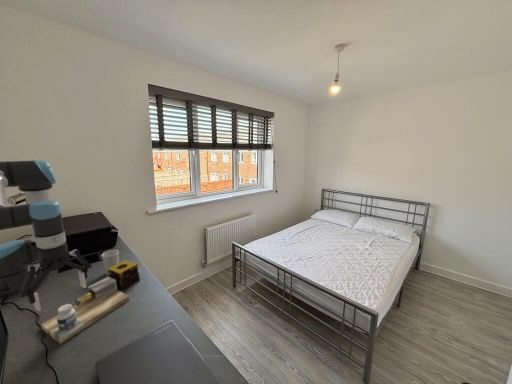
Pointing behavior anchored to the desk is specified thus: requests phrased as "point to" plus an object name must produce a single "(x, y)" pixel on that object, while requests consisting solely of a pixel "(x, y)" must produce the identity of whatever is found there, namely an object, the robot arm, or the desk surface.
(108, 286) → the wooden base board
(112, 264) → the cup
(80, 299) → the pin
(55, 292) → the desk surface
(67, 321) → the pill bottle
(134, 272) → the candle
